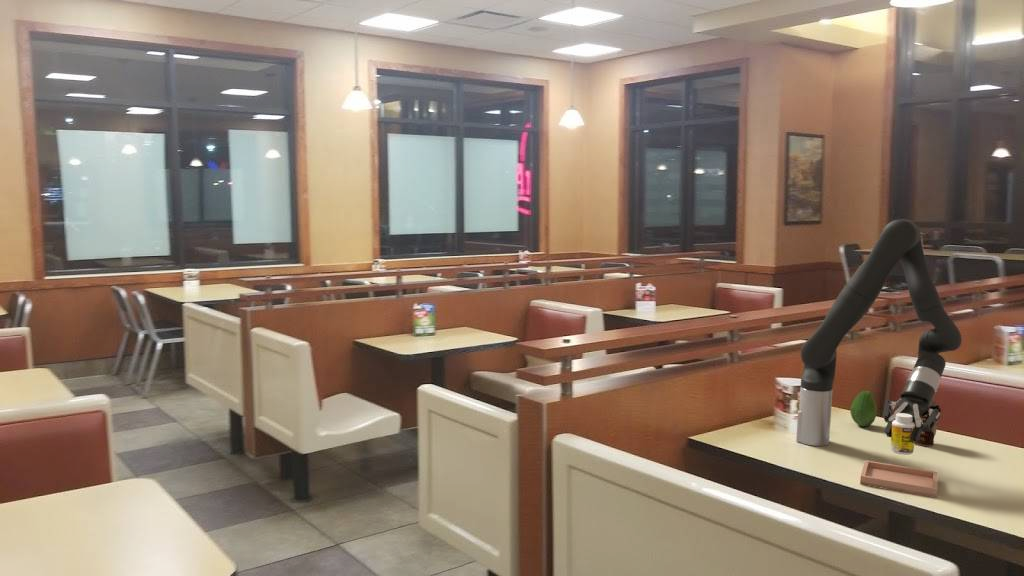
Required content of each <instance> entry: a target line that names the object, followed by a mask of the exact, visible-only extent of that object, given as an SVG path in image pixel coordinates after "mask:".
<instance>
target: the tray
mask: <svg viewBox="0 0 1024 576" xmlns="http://www.w3.org/2000/svg"><path fill="white" fill-rule="evenodd" d="M938 473H939V472H938V471H936V470H934V471H933V470H928V469H921V468H916V467H910V466H904V465H898V464H897V465H896V464H892V463H886V462H877V461H873V460H868V459H867V460H866V459H865V460H864V463H863V467H862V469H861V474H860V478H859V479H860V481H859V484H860V485H861V484H862V486H867V485H870V486H869V487H873V486H876V487H875V488H878V487H882V488H881V489H884V488H886V489H885V490H890V489H891V490H892V491H897V492H901V493H902V492H903V493H908V494H914V495H918V494H919V496H924V497H925V496H926V497H930V498H938V488H939V487H938V480H939V478H938Z"/></svg>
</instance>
